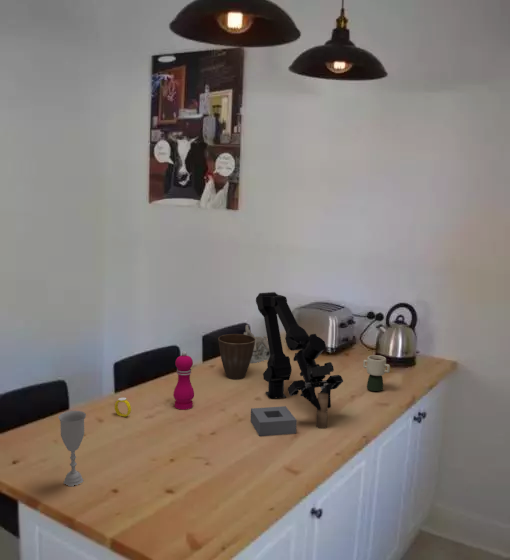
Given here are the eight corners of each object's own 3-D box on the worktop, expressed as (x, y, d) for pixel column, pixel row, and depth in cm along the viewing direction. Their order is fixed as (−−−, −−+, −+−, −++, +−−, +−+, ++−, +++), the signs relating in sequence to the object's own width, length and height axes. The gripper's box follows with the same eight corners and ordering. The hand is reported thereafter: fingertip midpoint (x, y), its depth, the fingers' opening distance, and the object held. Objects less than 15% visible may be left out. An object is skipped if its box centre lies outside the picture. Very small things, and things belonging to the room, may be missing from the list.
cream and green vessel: (391, 390, 236) (393, 358, 234) (384, 395, 230) (386, 362, 228) (365, 384, 242) (367, 353, 240) (358, 389, 236) (359, 357, 234)
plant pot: (261, 375, 249) (262, 337, 247) (240, 385, 237) (242, 345, 234) (231, 368, 257) (232, 332, 254) (210, 377, 245) (210, 339, 242)
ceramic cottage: (234, 361, 267) (238, 328, 265) (241, 353, 283) (244, 321, 281) (269, 366, 264) (273, 333, 262) (274, 357, 280) (277, 325, 278)
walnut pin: (314, 424, 201) (316, 392, 199) (324, 423, 202) (326, 392, 200) (318, 428, 197) (319, 396, 196) (328, 428, 198) (329, 395, 196)
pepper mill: (190, 411, 209) (191, 355, 206) (170, 409, 210) (170, 353, 207) (196, 403, 216) (197, 349, 213) (177, 401, 217) (177, 347, 214)
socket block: (250, 421, 202) (250, 408, 201) (285, 418, 205) (285, 406, 204) (259, 436, 190) (259, 422, 190) (296, 433, 193) (296, 419, 192)
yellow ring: (132, 416, 203) (132, 399, 202) (127, 419, 201) (127, 401, 200) (118, 412, 206) (118, 395, 205) (113, 415, 203) (112, 398, 202)
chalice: (63, 475, 162) (61, 410, 159) (89, 474, 163) (88, 410, 160) (56, 488, 155) (55, 421, 152) (84, 488, 155) (83, 421, 152)
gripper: (293, 357, 195) (310, 401, 187) (341, 351, 203) (359, 393, 195) (280, 373, 203) (296, 416, 195) (327, 367, 211) (344, 408, 204)
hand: (324, 408), depth 197 cm, fingers closed on walnut pin, 3 cm apart
